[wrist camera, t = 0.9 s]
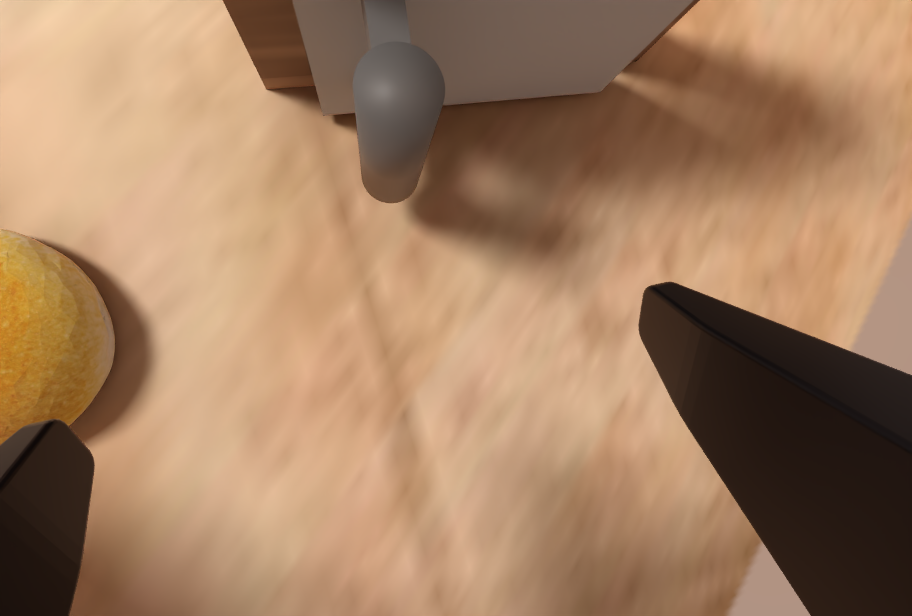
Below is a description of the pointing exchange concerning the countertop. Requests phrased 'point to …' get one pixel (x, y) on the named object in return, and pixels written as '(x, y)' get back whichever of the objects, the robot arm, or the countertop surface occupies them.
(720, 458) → the robot arm
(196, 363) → the countertop surface
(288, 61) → the door frame
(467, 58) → the door
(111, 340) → the bread roll
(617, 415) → the countertop surface
